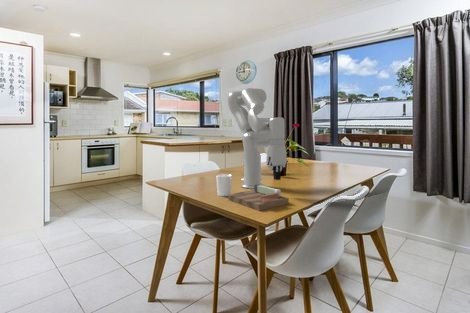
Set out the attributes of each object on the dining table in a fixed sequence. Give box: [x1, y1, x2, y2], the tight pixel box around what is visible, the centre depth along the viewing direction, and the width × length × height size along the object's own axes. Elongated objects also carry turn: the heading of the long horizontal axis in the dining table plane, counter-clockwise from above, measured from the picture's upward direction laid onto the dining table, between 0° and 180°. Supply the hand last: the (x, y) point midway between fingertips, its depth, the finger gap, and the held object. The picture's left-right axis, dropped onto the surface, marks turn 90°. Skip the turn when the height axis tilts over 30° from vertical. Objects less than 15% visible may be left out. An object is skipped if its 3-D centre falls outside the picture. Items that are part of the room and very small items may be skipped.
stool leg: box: [253, 184, 282, 197], centre depth 136 cm, size 16×3×3 cm, turn 37°
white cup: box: [215, 173, 233, 197], centre depth 145 cm, size 8×8×10 cm
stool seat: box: [227, 189, 290, 211], centre depth 132 cm, size 22×18×6 cm
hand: (277, 179), depth 142 cm, fingers closed
